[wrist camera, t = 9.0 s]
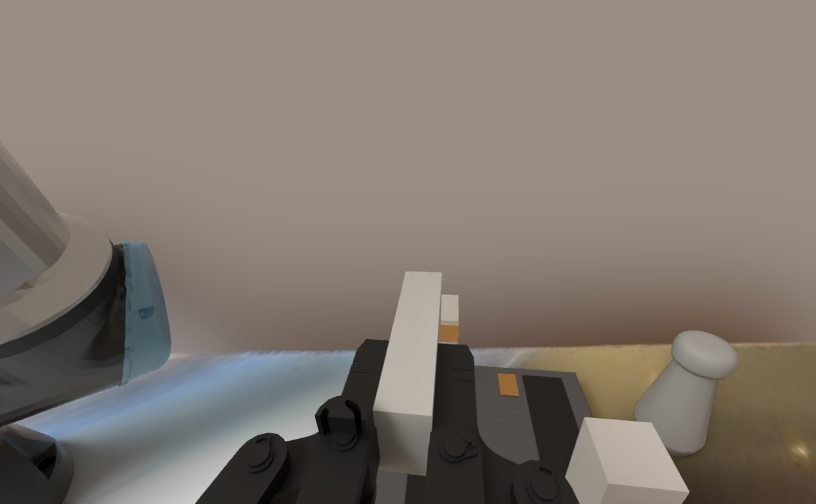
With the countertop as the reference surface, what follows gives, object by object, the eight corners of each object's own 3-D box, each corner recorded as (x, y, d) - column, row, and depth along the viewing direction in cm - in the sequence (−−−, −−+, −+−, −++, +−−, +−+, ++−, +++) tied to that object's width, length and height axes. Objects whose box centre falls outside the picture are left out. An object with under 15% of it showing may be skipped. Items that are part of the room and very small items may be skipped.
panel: (341, 609, 24) (337, 598, 23) (392, 371, 44) (391, 359, 43) (673, 665, 22) (685, 654, 21) (571, 384, 41) (575, 372, 40)
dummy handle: (569, 573, 24) (608, 483, 18) (554, 509, 27) (584, 417, 22) (629, 582, 23) (689, 492, 18) (607, 515, 27) (651, 422, 21)
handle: (417, 402, 36) (414, 319, 31) (420, 372, 40) (418, 293, 35) (455, 406, 36) (459, 321, 31) (455, 375, 40) (458, 295, 34)
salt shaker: (672, 412, 37) (720, 320, 31) (711, 467, 32) (777, 368, 26) (617, 412, 37) (653, 320, 31) (647, 465, 32) (697, 368, 26)
